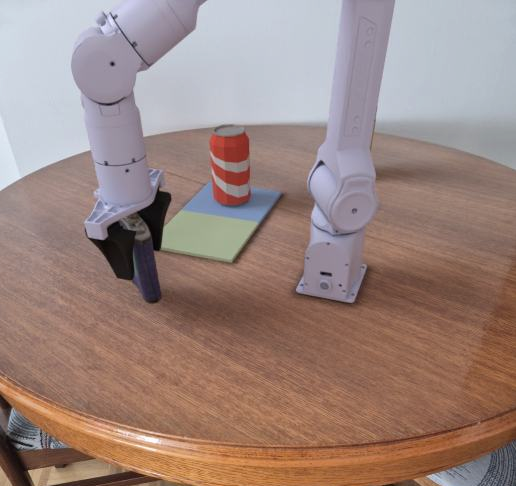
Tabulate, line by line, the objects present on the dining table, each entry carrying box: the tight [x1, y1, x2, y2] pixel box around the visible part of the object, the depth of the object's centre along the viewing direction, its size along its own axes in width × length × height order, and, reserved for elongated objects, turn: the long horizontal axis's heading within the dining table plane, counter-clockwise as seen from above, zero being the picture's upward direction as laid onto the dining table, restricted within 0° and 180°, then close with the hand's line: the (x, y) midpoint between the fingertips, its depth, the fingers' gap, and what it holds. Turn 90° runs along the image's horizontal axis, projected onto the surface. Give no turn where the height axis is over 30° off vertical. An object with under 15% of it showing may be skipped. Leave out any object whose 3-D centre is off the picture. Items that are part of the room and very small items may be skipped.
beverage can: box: [208, 123, 251, 206], centre depth 90 cm, size 6×6×12 cm
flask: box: [119, 210, 163, 306], centre depth 67 cm, size 9×3×11 cm, turn 29°
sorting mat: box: [160, 180, 283, 264], centre depth 90 cm, size 24×14×1 cm, turn 160°
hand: (139, 262), depth 68 cm, fingers closed on flask, 6 cm apart
